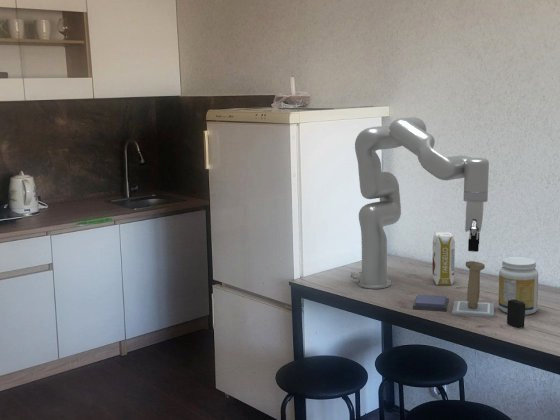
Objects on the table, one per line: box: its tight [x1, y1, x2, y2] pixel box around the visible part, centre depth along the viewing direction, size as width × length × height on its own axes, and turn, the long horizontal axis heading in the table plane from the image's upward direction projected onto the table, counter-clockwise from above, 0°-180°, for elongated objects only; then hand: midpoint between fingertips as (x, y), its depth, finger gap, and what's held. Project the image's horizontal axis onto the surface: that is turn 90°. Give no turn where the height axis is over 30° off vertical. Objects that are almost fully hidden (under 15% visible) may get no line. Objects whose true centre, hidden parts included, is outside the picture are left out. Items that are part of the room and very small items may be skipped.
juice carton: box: [431, 231, 456, 286], centre depth 255 cm, size 8×9×19 cm
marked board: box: [451, 300, 495, 318], centre depth 224 cm, size 13×13×1 cm
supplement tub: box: [498, 256, 540, 316], centre depth 221 cm, size 12×12×17 cm
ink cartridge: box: [506, 299, 526, 330], centre depth 207 cm, size 5×2×8 cm, turn 29°
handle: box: [465, 260, 486, 308], centre depth 223 cm, size 5×6×15 cm
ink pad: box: [412, 294, 450, 312], centre depth 230 cm, size 11×11×2 cm
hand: (473, 247), depth 221 cm, fingers open, 9 cm apart
